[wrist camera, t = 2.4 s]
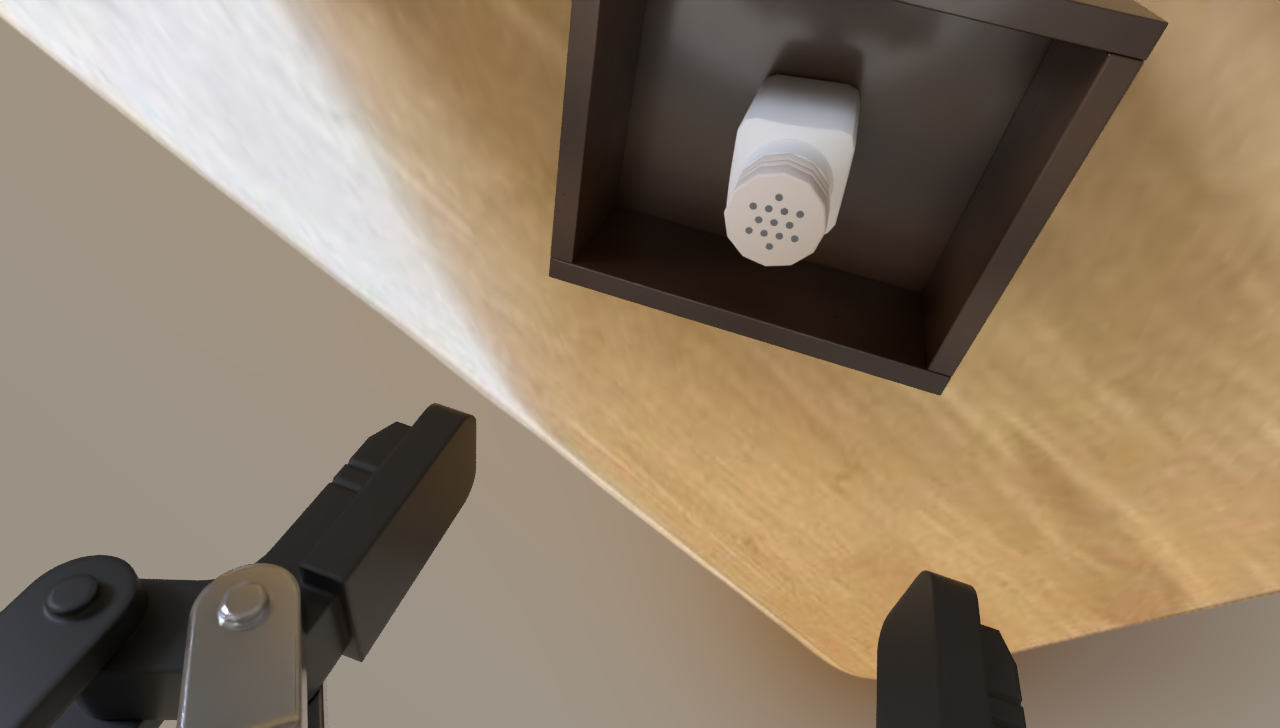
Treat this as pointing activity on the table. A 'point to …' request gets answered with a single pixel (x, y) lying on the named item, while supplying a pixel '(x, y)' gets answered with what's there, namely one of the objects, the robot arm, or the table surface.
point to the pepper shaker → (790, 167)
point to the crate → (880, 171)
